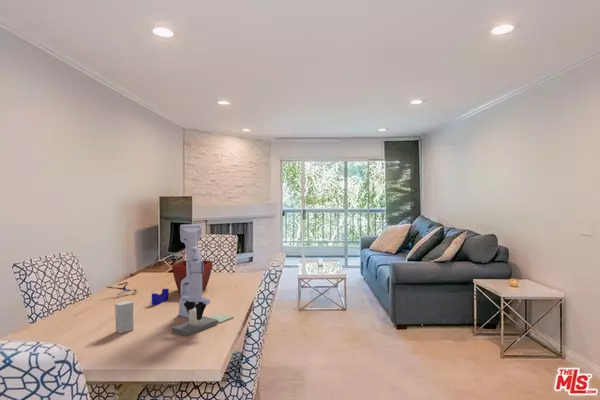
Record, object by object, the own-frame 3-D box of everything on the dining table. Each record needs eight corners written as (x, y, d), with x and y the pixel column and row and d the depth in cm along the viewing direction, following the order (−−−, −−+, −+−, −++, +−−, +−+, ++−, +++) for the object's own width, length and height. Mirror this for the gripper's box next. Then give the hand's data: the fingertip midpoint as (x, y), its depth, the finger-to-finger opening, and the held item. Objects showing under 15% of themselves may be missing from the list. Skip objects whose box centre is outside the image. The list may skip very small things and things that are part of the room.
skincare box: (128, 327, 171) (128, 300, 170) (133, 329, 168) (133, 302, 168) (115, 331, 166) (114, 303, 166) (119, 333, 163) (119, 305, 163)
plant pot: (213, 287, 245) (213, 260, 245) (202, 294, 226) (202, 266, 226) (184, 286, 247) (184, 259, 247) (171, 294, 228) (171, 265, 228)
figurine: (138, 307, 226) (101, 301, 217) (138, 298, 233) (103, 293, 225) (143, 292, 224) (106, 286, 215) (144, 284, 231) (108, 277, 223)
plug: (188, 326, 170) (188, 310, 169) (195, 323, 173) (195, 307, 173) (195, 327, 168) (195, 311, 168) (202, 324, 171) (202, 308, 171)
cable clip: (161, 299, 218) (161, 288, 217) (168, 299, 217) (168, 288, 217) (149, 305, 206) (149, 293, 206) (157, 305, 205) (157, 294, 205)
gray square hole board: (171, 332, 165) (171, 327, 165) (203, 320, 180) (203, 316, 180) (186, 336, 160) (186, 331, 160) (217, 324, 176) (217, 319, 175)
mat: (206, 319, 182) (206, 318, 182) (219, 314, 189) (219, 313, 189) (220, 323, 177) (220, 321, 177) (233, 317, 184) (233, 316, 184)
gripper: (176, 287, 170) (176, 318, 170) (202, 291, 163) (202, 323, 163) (187, 284, 176) (187, 314, 176) (213, 288, 170) (213, 319, 170)
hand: (195, 318), depth 170 cm, fingers closed on plug, 4 cm apart
